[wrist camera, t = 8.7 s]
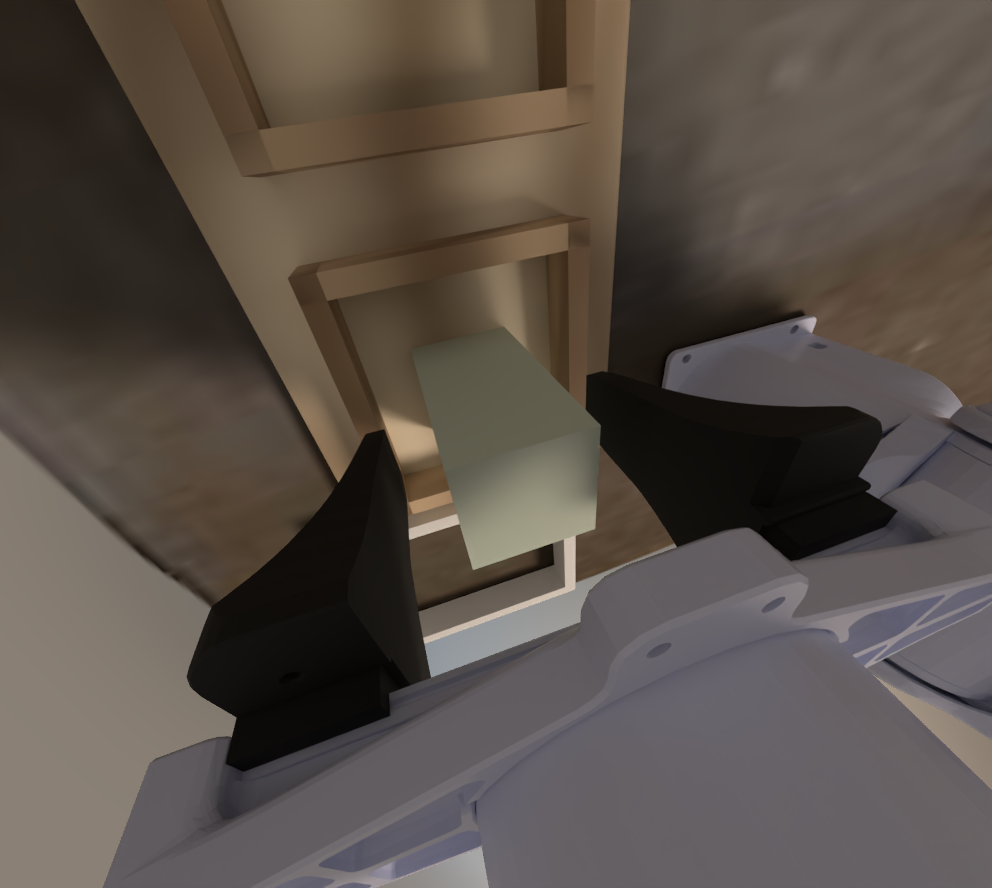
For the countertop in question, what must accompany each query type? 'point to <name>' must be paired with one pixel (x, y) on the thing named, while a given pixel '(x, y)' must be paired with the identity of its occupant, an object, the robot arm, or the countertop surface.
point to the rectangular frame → (497, 597)
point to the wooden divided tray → (391, 185)
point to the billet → (509, 445)
